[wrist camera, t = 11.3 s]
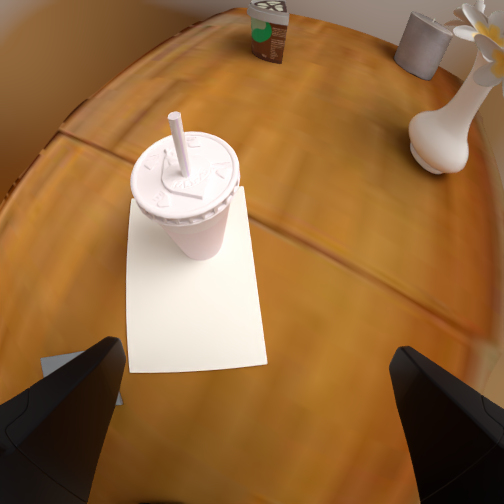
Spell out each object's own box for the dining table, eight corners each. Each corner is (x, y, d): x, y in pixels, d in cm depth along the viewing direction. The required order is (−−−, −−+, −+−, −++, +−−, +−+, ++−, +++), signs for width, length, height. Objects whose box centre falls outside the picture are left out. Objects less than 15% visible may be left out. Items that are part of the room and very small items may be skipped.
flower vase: (379, 184, 28) (490, -11, 4) (395, 106, 34) (452, -21, 11) (464, 236, 26) (598, 107, 3) (460, 147, 33) (533, 41, 9)
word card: (123, 403, 18) (120, 404, 18) (54, 409, 17) (51, 409, 17) (108, 346, 20) (106, 346, 20) (42, 358, 19) (39, 358, 18)
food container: (247, 37, 40) (250, -7, 31) (280, 40, 40) (286, -3, 31) (242, 64, 35) (244, 10, 26) (281, 68, 36) (289, 14, 26)
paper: (266, 363, 20) (267, 363, 20) (131, 372, 19) (129, 372, 19) (243, 188, 26) (243, 186, 26) (132, 201, 25) (131, 198, 25)
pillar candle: (410, 57, 45) (429, 11, 31) (438, 81, 41) (462, 34, 28) (385, 55, 43) (403, 2, 29) (415, 80, 40) (441, 25, 26)
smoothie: (186, 290, 22) (122, 191, 9) (154, 229, 24) (92, 108, 11) (253, 251, 23) (271, 123, 10) (215, 196, 25) (203, 62, 12)
